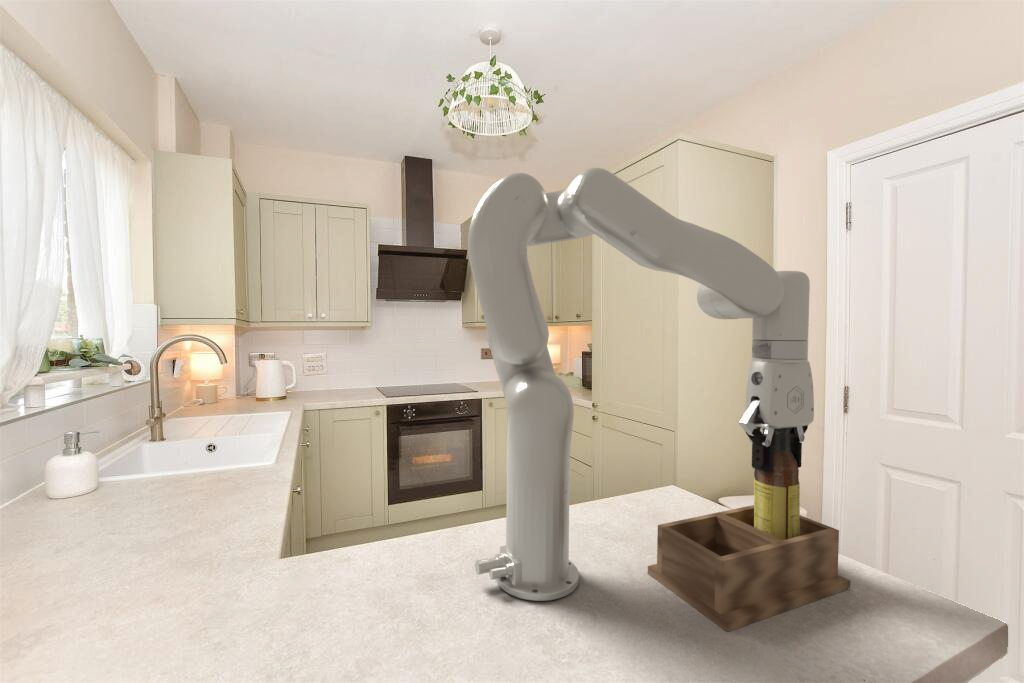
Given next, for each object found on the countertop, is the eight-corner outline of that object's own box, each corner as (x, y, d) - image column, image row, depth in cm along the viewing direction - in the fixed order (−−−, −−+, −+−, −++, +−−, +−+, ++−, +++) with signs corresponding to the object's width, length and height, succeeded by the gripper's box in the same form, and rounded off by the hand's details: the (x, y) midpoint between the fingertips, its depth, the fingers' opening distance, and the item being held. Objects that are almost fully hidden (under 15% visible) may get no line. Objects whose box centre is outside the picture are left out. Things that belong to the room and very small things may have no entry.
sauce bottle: (787, 538, 75) (791, 417, 75) (807, 556, 69) (812, 424, 69) (745, 535, 76) (749, 415, 76) (761, 553, 70) (766, 422, 69)
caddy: (727, 631, 58) (728, 567, 58) (647, 573, 72) (648, 521, 72) (850, 588, 69) (851, 533, 68) (759, 544, 82) (760, 499, 82)
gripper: (762, 354, 65) (759, 482, 65) (839, 352, 72) (836, 468, 72) (718, 351, 72) (716, 467, 72) (793, 350, 79) (790, 455, 79)
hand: (776, 466), depth 72 cm, fingers closed on sauce bottle, 5 cm apart
